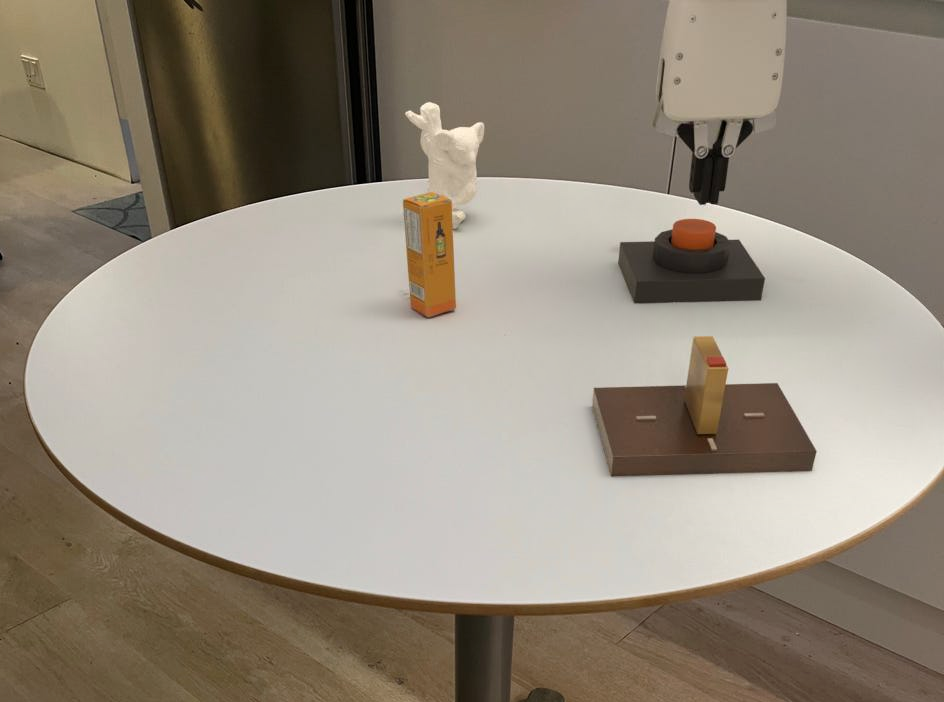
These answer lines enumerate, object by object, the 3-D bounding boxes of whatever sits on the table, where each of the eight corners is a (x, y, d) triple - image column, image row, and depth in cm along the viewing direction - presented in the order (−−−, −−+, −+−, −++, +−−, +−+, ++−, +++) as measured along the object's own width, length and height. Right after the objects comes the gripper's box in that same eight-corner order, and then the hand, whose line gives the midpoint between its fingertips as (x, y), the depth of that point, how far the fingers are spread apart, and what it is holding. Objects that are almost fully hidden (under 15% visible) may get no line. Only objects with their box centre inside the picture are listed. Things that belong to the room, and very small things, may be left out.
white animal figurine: (413, 236, 109) (408, 114, 101) (405, 215, 114) (400, 97, 106) (490, 230, 110) (491, 109, 102) (479, 209, 115) (479, 92, 107)
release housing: (735, 261, 103) (742, 220, 100) (760, 301, 95) (769, 258, 93) (618, 263, 102) (621, 223, 100) (634, 304, 95) (638, 261, 92)
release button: (708, 236, 98) (711, 217, 97) (717, 251, 95) (720, 232, 94) (667, 237, 98) (669, 218, 97) (675, 252, 95) (677, 233, 94)
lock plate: (770, 418, 79) (778, 380, 76) (807, 488, 71) (817, 449, 69) (590, 422, 78) (593, 385, 76) (609, 494, 71) (613, 454, 69)
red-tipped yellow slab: (683, 400, 74) (693, 332, 71) (702, 400, 74) (713, 332, 71) (697, 434, 71) (708, 365, 67) (717, 434, 71) (729, 364, 67)
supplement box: (437, 298, 96) (433, 188, 90) (456, 311, 94) (455, 199, 87) (407, 307, 95) (401, 196, 88) (426, 319, 93) (422, 206, 86)
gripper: (811, -48, 84) (774, 184, 96) (633, -40, 84) (618, 191, 96) (840, -35, 79) (797, 209, 91) (649, -26, 79) (631, 217, 91)
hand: (705, 199), depth 93 cm, fingers closed
